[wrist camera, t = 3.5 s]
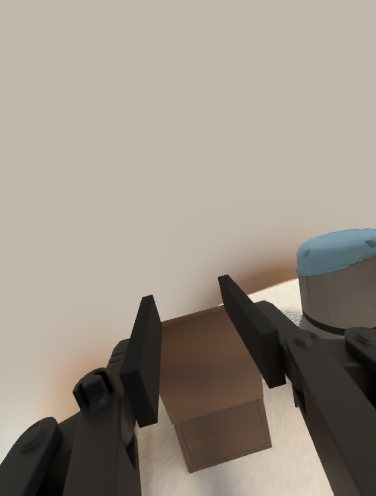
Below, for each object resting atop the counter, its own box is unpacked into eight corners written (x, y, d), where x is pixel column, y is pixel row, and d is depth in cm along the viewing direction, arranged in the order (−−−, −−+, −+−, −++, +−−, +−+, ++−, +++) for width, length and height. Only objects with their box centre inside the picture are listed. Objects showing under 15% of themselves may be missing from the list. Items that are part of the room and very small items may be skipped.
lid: (135, 328, 18) (134, 335, 18) (248, 297, 19) (252, 302, 18) (171, 417, 23) (172, 425, 23) (260, 390, 24) (263, 397, 23)
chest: (182, 382, 38) (171, 345, 36) (236, 366, 39) (228, 329, 37) (189, 473, 25) (173, 424, 23) (272, 447, 26) (262, 396, 24)
